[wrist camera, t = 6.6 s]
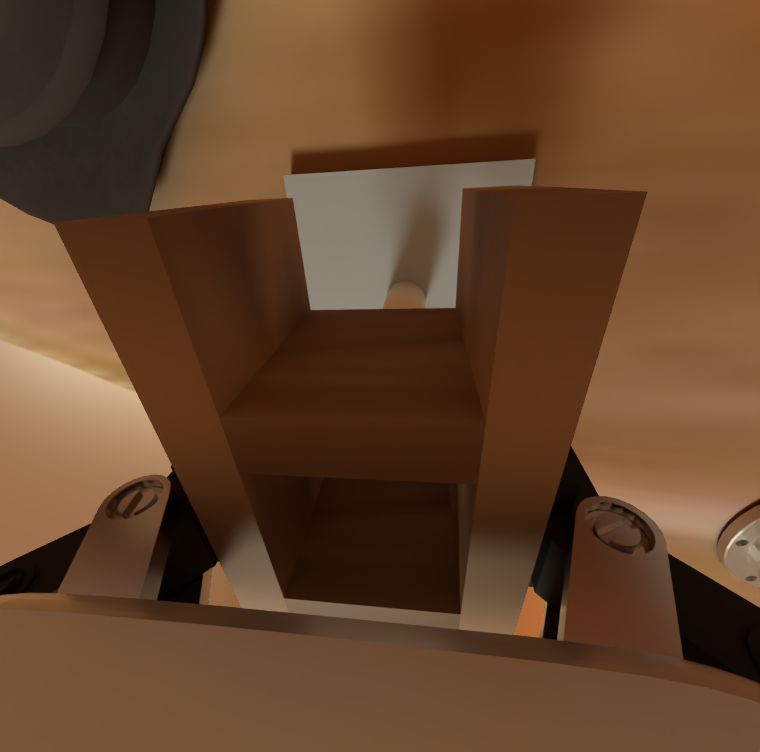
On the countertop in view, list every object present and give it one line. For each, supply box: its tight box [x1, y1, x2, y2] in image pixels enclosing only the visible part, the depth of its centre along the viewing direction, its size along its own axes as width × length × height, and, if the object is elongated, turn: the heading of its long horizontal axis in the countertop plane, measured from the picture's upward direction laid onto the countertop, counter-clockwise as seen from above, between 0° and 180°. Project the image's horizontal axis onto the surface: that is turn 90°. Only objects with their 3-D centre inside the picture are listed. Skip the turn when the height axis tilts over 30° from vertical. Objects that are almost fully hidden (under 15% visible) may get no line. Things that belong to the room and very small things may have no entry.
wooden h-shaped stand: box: [54, 185, 647, 635], centre depth 9 cm, size 12×6×5 cm, turn 3°
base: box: [283, 159, 536, 310], centre depth 19 cm, size 13×13×6 cm
